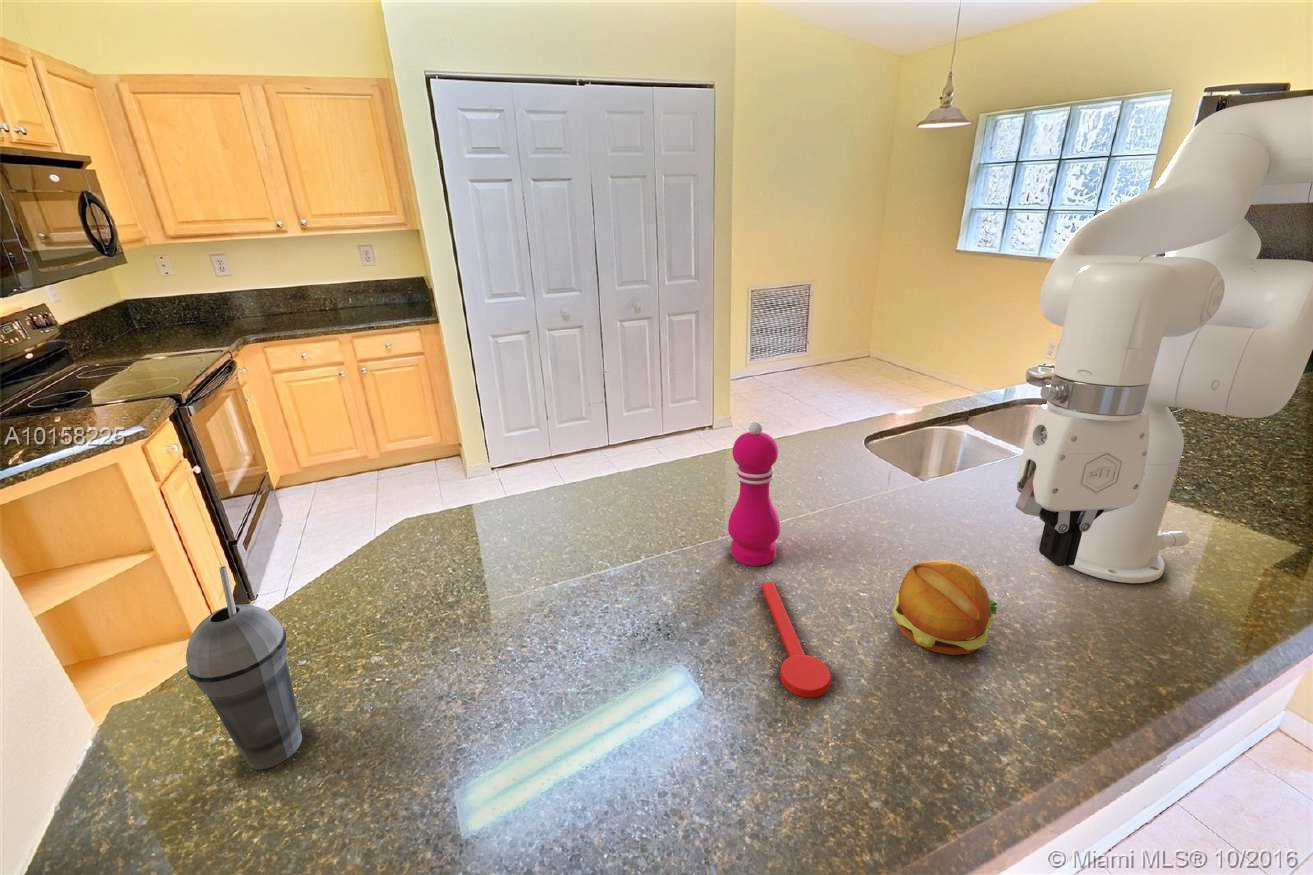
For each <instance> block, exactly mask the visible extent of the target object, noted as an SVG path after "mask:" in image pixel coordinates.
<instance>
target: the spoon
mask: <svg viewBox="0 0 1313 875" xmlns="http://www.w3.org/2000/svg"><path fill="white" fill-rule="evenodd" d="M760 586H761V587H760V588H761V590H762V593H763V596H764V599H765V601H766V603H767V606H768V608H769V611H770V614H771V616H772V618H773V621H774V624H775V626H776V629H777V632H778V634H779V637H780V639H781V642H782V644H783V646H784V650H785V651H786V654H787V656H788V657H787V658H786V659H785V660H783V662H782V663H781V666H780V674H779V675H780V681H781V683H782V685H783V687H784V688H785V689H786V690H787V691H788V692H790V693H792V694H794V695H796V696H798V697H802V698H807V699H810V698H818V697H820V696H822V695H824V694H825V693H827V692H828V690H829V689H830V686H831V671H830V669H829V668H828V666H827V665H826V664H825V663H824V662H823V661H821V660H820V659H818V658H817V657H814V656H810V655H806V654H805V652H804V650H803V647H802V645H801V643H800V641H799V638H798V636H797V634H796V631H795V629H794V627H793V624H792V622H791V620H790V618H789V615H788V613H787V611H786V608H785V605H784V604H783V601H782V598H781V597H780V594H779V592H778V589H777V588H776V585H775V583H774V582H761V585H760Z"/></svg>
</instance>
